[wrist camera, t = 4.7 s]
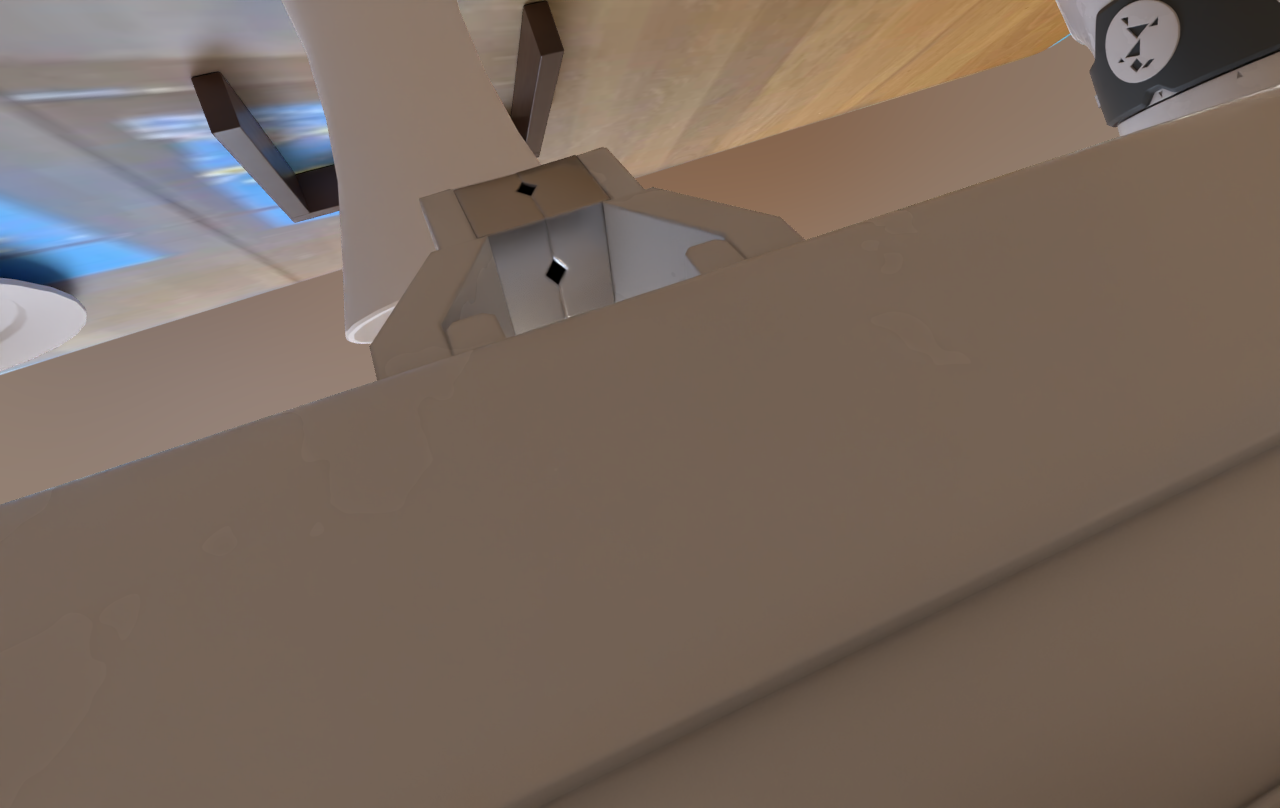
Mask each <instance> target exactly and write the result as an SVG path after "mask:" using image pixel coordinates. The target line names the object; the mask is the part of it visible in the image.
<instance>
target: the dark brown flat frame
mask: <svg viewBox="0 0 1280 808" xmlns="http://www.w3.org/2000/svg"><path fill="white" fill-rule="evenodd" d="M563 53H564V48H563V45H562V43H561V40H560V37H559V34H558V31H557V28H556V25H555V22H554V20H553V17H552V14H551V11H550V8H549V5H548V2H547V1H544V2H539V3H534V4H530V5H525V6H524V9H523V17H522V26H521V35H520V44H519V52H518V61H517V70H516V79H515V88H514V96H513V105H512V114H511V120H512V121H513V123H514V125H515V127H516V129H517V130H518V132H519V134H520V135H521V136H522V138H523V139H524V141H525V142H526V144H527V145H528V146H529V148H530V149H531V151H532V152H533V153H534V155H535V156H536V158H537V157H539V155H540V151H541V146H542V142H543V138H544V134H545V129H546V125H547V121H548V117H549V113H550V108H551V104H552V100H553V96H554V91H555V87H556V83H557V79H558V74H559V70H560V66H561V62H562V58H563ZM191 80H192V82H193V85H194V88H195V90H196V93H197V96H198V98H199V101H200V103H201V106H202V109H203V111H204V114H205V117H206V119H207V122H208V125H209V127H210V130H211V133H212V134H213V135H214V136H215V137H216V138H217V139H218V140H219V142H220V143H221V144H222V145H223V146H224V147H225V148H226V149H227V150H228V151H229V152H230V153H231V155H232V156H233V157H234V158H235V159H236V160H237V161H238V162H239V163H240V164H241V165H242V166H243V168H244V169H245V170H246V171H247V172H248V173H249V174H250V175H251V176H252V177H253V178H254V180H255V181H256V182H257V183H258V184H259V185H260V186H261V187H262V188H263V189H264V190H265V191H266V193H267V194H268V195H269V196H270V197H271V198H272V199H273V200H274V201H275V202H276V203H277V204H278V206H279V207H280V208H281V209H282V210H283V211H284V212H285V213H286V214H287V215H288V216H289V218H290V219H291V220H292V221H293V222H294V223H296V222H299V221H303V220H307V219H311V218H314V217H318V216H322V215H325V214H329V213H333V212H337V211H340V210H339V194H338V180H337V175H336V170H335V165H332V166H329V167H325V168H321V169H317V170H313V171H309V172H305V173H301V174H297V175H295V173H294V172H293V171H292V169H291V168H290V166H289V165H288V164H287V162H286V161H285V160H284V158H283V157H282V156H281V154H280V153H279V152H278V150H277V149H276V147H275V146H274V145H273V143H272V142H271V141H270V139H269V138H268V137H267V135H266V134H265V133H264V131H263V130H262V128H261V127H260V126H259V124H258V123H257V122H256V120H255V119H254V118H253V116H252V115H251V113H250V112H249V111H248V109H247V108H246V107H245V105H244V104H243V103H242V101H241V100H240V99H239V97H238V96H237V94H236V93H235V92H234V90H233V89H232V88H231V86H230V85H229V84H228V82H227V81H226V80H225V78H224V77H223V75H222V74H221V73H220V72H217V73H212V74H207V75H203V76H198V77H193V78H191Z"/></svg>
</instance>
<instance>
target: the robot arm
mask: <svg viewBox="0 0 1280 808" xmlns="http://www.w3.org/2000/svg"><path fill="white" fill-rule="evenodd" d="M1056 2H1057V4H1058V7H1059V9H1060V11H1061V13H1062V16H1063V18H1064V20H1065V22H1066V24H1067V27H1068V29H1069V31H1070V33H1071V35H1072V37H1073V38H1074V39H1075V40H1076V41H1077V42H1079V43H1081V44H1083V45H1086V46H1087V47H1088V48H1089V49H1090V50H1091V52H1092V53H1093V55H1094V58H1095V62H1094V64H1093V65H1092V67H1091V69H1090V75H1091V78H1092V81H1093V85H1094V88H1095V91H1096V94H1097V95H1095V98H1096V101H1097V104H1098V107H1099V108H1101V109H1102V112H1103V114H1104V117H1105V120H1106V122H1107V125H1109V126H1112V127H1118V130H1119V134H1120V137H1118V138H1114V139H1111V140H1108V141H1105V142H1102V143H1099V144H1096V145H1093V146H1090V147H1087V148H1084V149H1081V150H1078V151H1075V152H1072V153H1069V154H1066V155H1063V156H1060V157H1057V158H1054V159H1051V160H1048V161H1045V162H1042V163H1038V164H1035V165H1032V166H1029V167H1026V168H1023V169H1020V170H1018V171H1014V172H1011V173H1008V174H1005V175H1002V176H999V177H996V178H993V179H990V180H987V181H984V182H981V183H978V184H975V185H972V186H968V187H966V188H963V189H960V190H957V191H953V192H950V193H947V194H944V195H941V196H938V197H935V198H932V199H929V200H926V201H923V202H920V203H917V204H914V205H911V206H908V207H905V208H902V209H899V210H896V211H893V212H889V213H886V214H884V215H880V216H877V217H874V218H872V219H868V220H865V221H862V222H859V223H856V224H853V225H850V226H847V227H844V228H841V229H838V230H835V231H832V232H829V233H826V234H823V235H820V236H817V237H813V238H810V239H807V240H805V239H804V238H803V237H802V236H801V235H799V234H798V233H797V232H796V231H795V230H794V229H793V228H792V227H791V226H790V225H788V224H787V223H786V222H785V221H784V220H783V219H782V218H781V217H778V216H774V215H770V214H765V213H761V212H757V211H752V210H748V209H744V208H740V207H736V206H731V205H727V204H723V203H719V202H714V201H710V200H706V199H701V198H697V197H693V196H689V195H684V194H680V193H676V192H672V191H667V190H663V189H658V188H654V187H652V188H649V189H644V188H643V187H642V186H641V185H640V184H639V183H638V182H637V181H636V180H635V178H634V177H633V176H632V175H631V174H630V173H629V172H628V171H627V170H626V168H625V167H624V166H623V165H622V164H621V163H620V162H619V161H618V160H617V159H616V157H615V156H614V155H613V154H612V153H611V152H610V151H609V150H608V149H607V148H604V147H601V148H598V149H595V150H592V151H589V152H586V153H583V154H580V155H577V156H576V155H573V156H570V157H567V158H563V159H560V160H557V161H554V162H550V163H547V164H544V165H540V166H537V167H534V168H530V169H527V170H524V171H520V172H517V173H514V174H510V175H506V176H502V177H498V178H494V179H490V180H486V181H482V182H479V183H475V184H471V185H467V186H463V187H459V188H455V189H452V190H451V189H448V190H444V191H441V192H438V193H435V194H431V195H428V196H425V197H422V198H419V202H420V205H421V208H422V211H423V214H424V217H425V220H426V223H427V226H428V229H429V232H430V235H431V238H432V241H433V244H434V247H435V250H436V251H433V252H431V253H430V254H429V256H428V257H427V259H426V260H425V262H424V263H423V265H422V267H421V268H420V270H419V271H418V273H417V274H416V276H415V277H414V279H413V280H412V282H411V283H410V285H409V286H408V288H407V290H406V291H405V293H404V294H403V296H402V297H401V299H400V300H399V302H398V303H397V305H396V306H395V308H394V309H393V311H392V313H391V314H390V316H389V317H388V319H387V320H386V322H385V323H384V325H383V326H382V328H381V329H380V331H379V332H378V334H377V336H376V337H375V339H374V340H373V342H372V343H371V345H370V351H371V355H372V359H373V364H374V368H375V373H376V377H377V381H375V382H372V383H369V384H366V385H363V386H360V387H357V388H354V389H351V390H347V391H344V392H341V393H338V394H335V395H332V396H329V397H326V398H323V399H320V400H317V401H314V402H311V403H308V404H305V405H302V406H299V407H296V408H293V409H290V410H287V411H283V412H281V413H277V414H275V415H271V416H268V417H265V418H262V419H259V420H257V421H253V422H250V423H247V424H244V425H241V426H238V427H235V428H232V429H229V430H226V431H223V432H220V433H217V434H214V435H211V436H208V437H205V438H202V439H199V440H196V441H193V442H190V443H186V444H184V445H180V446H177V447H174V448H171V449H168V450H165V451H162V452H160V453H156V454H153V455H150V456H147V457H144V458H141V459H138V460H135V461H132V462H129V463H126V464H123V465H120V466H117V467H114V468H111V469H108V470H105V471H102V472H98V473H95V474H92V475H89V476H86V477H84V478H80V479H78V480H74V481H71V482H68V483H65V484H62V485H59V486H56V487H53V488H50V489H47V490H44V491H41V492H38V493H35V494H32V495H29V496H25V497H22V498H19V499H16V500H13V501H10V502H7V503H5V504H1V505H0V808H1280V0H1056Z"/></svg>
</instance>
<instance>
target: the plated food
mask: <svg viewBox="0 0 1280 808" xmlns="http://www.w3.org/2000/svg"><path fill="white" fill-rule="evenodd" d="M86 315H87V312H86V309H85V307H84V306H83V305H82V304H81V303H80V302H79V301H78V300H77V299H76V298H75V297H74V296H72V295H70V294H67V293H65V292H62V291H60V290H58V289H55V288H53V287H49V286H44V285H40V284H35V283H30V282H25V281H21V280H16V279H7V278H0V371H3V370H6V369H8V368H11V367H13V366H16V365H19V364H21V363H24V362H27V361H29V360H32V359H34V358H36V357H38V356H40V355H42V354H45V353H47V352H49V351H51V350H53V349H55V348H57V347H59V346H60V345H62V344H63V343H65V342H66V341H68V340H69V339H71V338H72V337H74V336H75V335H77V333H78V332H79V331H80V330H81V329H82V328H83V326H84V325H85V324H86Z"/></svg>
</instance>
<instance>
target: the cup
mask: <svg viewBox="0 0 1280 808" xmlns="http://www.w3.org/2000/svg"><path fill="white" fill-rule="evenodd" d="M281 1H282V3H283V5H284V7H285V9H286V11H287V13H288V15H289V18H290V20H291V22H292V24H293V26H294V28H295V30H296V32H297V34H298V36H299V39H300V41H301V43H302V45H303V47H304V49H305V51H306V53H307V57H308V60H309V63H310V67H311V70H312V73H313V77H314V80H315V83H316V87H317V90H318V94H319V97H320V100H321V104H322V107H323V110H324V114H325V117H326V120H327V126H328V131H329V137H330V142H331V148H332V153H333V159H334V164H335V170H336V175H337V180H338V194H339V210H340V227H341V243H342V260H343V283H344V284H343V285H344V312H345V334H346V339H347V340H348V341H350V342H355V343H358V344H368V343H372V342H373V340H374V339H375V337H376V336H377V334H378V332H379V331H380V329H381V328H382V326H383V325H384V323H385V322H386V320H387V319H388V317H389V316H390V314H391V313H392V311H393V309H394V308H395V306H396V305H397V303H398V302H399V300H400V299H401V297H402V296H403V294H404V293H405V291H406V290H407V288H408V286H409V285H410V283H411V282H412V280H413V279H414V277H415V276H416V274H417V273H418V271H419V270H420V268H421V267H422V265H423V263H424V262H425V260H426V259H427V257H428V256H429V254H430V253H431V252H433V251H436V250H435V247H434V244H433V241H432V238H431V235H430V232H429V229H428V226H427V223H426V220H425V217H424V214H423V211H422V208H421V205H420V202H419V198H422V197H425V196H428V195H431V194H435V193H438V192H441V191H444V190H448V189H451V190H452V189H455V188H459V187H463V186H467V185H471V184H475V183H479V182H482V181H486V180H490V179H494V178H498V177H502V176H506V175H510V174H514V173H517V172H520V171H524V170H527V169H530V168H534V167H537V166H540V165H541V163H540V162H539V161H538V159H537V158H536V156H535V155H534V153H533V152H532V151H531V149H530V148H529V146H528V145H527V144H526V142H525V141H524V139H523V138H522V136H521V135H520V134H519V132H518V130H517V129H516V127H515V125H514V123H513V121H512V120H511V118H510V116H509V114H508V112H507V110H506V109H505V107H504V105H503V103H502V101H501V99H500V98H499V96H498V94H497V92H496V90H495V89H494V87H493V85H492V83H491V81H490V79H489V78H488V76H487V74H486V72H485V69H484V67H483V65H482V62H481V60H480V58H479V55H478V53H477V51H476V48H475V46H474V43H473V41H472V39H471V36H470V34H469V32H468V29H467V27H466V25H465V22H464V20H463V18H462V15H461V13H460V10H459V7H458V3H457V0H281Z"/></svg>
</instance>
